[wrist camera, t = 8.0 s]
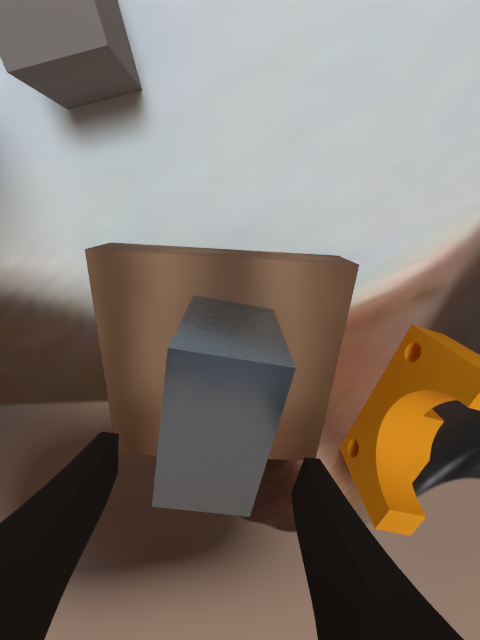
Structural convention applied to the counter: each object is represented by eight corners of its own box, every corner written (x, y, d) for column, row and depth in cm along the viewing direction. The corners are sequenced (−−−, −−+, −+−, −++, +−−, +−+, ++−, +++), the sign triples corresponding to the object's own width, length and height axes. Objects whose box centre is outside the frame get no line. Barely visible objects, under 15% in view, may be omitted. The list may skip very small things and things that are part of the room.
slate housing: (176, 425, 18) (150, 523, 12) (193, 295, 14) (167, 347, 9) (241, 434, 18) (244, 533, 13) (272, 308, 15) (296, 368, 9)
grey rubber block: (68, 109, 14) (7, 72, 10) (29, 5, 12) (-59, -84, 9) (142, 90, 14) (107, 44, 10) (112, -19, 12) (58, -121, 8)
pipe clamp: (383, 456, 24) (433, 539, 18) (338, 446, 23) (374, 529, 17) (463, 339, 19) (564, 396, 13) (410, 323, 19) (492, 376, 13)
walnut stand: (132, 423, 21) (116, 455, 19) (110, 242, 16) (85, 249, 13) (304, 428, 22) (315, 460, 19) (338, 255, 17) (359, 264, 14)
